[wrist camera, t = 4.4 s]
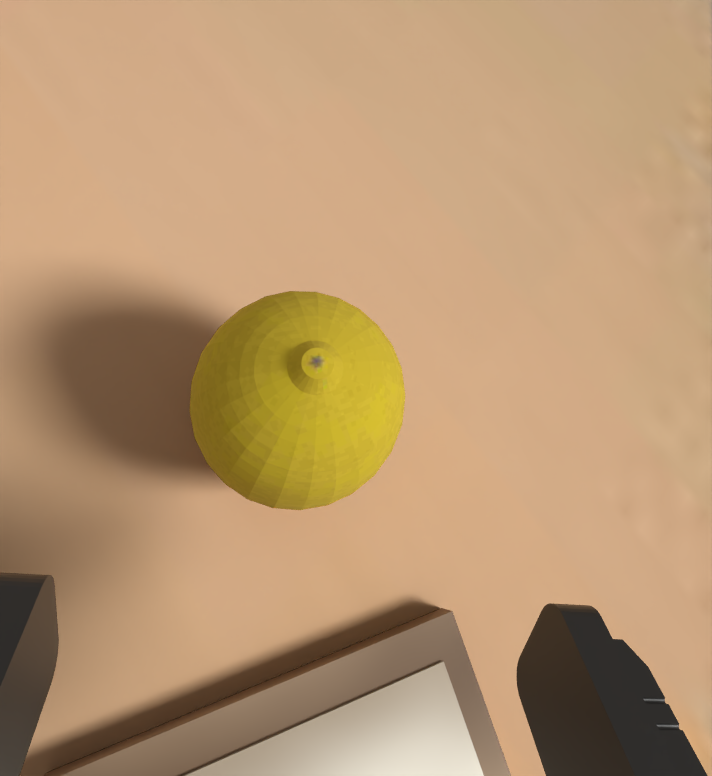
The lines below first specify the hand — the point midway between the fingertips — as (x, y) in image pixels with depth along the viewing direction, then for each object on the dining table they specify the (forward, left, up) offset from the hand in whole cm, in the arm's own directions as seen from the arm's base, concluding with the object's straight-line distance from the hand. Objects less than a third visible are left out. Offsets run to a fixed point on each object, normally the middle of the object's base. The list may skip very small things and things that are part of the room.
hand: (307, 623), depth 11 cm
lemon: (-5, +2, -10) cm, 11 cm away
